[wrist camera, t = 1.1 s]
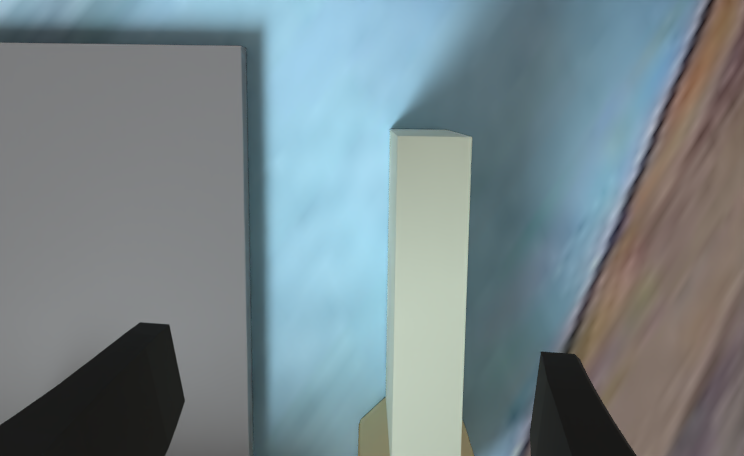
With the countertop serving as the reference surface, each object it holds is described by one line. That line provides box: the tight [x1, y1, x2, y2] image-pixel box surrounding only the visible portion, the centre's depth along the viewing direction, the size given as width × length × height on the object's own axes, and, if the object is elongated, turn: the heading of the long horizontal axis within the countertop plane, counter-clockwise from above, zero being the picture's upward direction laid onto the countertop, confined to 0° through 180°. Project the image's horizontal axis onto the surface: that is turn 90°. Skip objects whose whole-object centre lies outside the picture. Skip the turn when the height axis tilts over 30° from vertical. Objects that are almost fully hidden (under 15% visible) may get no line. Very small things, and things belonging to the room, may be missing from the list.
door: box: [358, 129, 474, 456], centre depth 23 cm, size 14×4×6 cm, turn 179°
